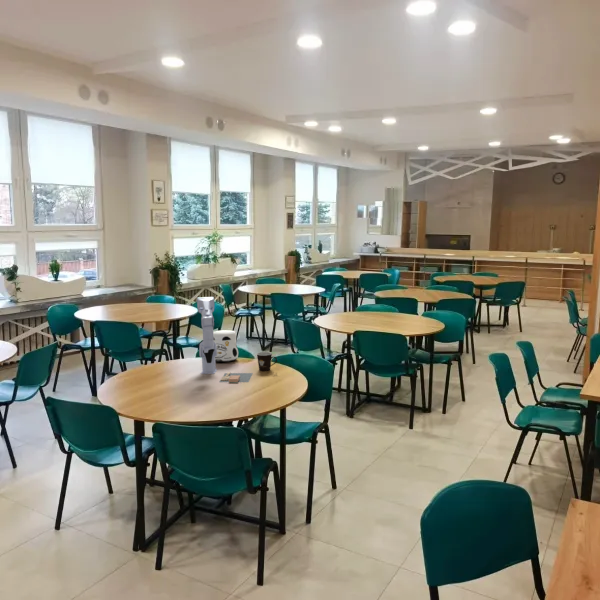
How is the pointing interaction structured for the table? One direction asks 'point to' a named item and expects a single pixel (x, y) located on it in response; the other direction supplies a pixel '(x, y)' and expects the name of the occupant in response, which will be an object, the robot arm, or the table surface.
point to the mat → (243, 377)
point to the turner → (226, 377)
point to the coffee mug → (265, 361)
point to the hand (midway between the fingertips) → (209, 362)
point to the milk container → (225, 345)
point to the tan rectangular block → (234, 378)
